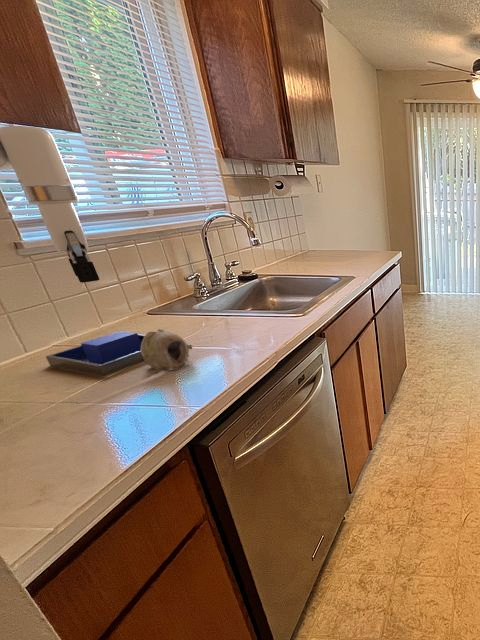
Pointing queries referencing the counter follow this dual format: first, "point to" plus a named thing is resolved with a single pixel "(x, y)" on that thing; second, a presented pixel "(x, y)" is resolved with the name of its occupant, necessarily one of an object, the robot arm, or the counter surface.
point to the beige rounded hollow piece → (164, 350)
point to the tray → (80, 362)
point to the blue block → (111, 346)
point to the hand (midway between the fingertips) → (87, 278)
